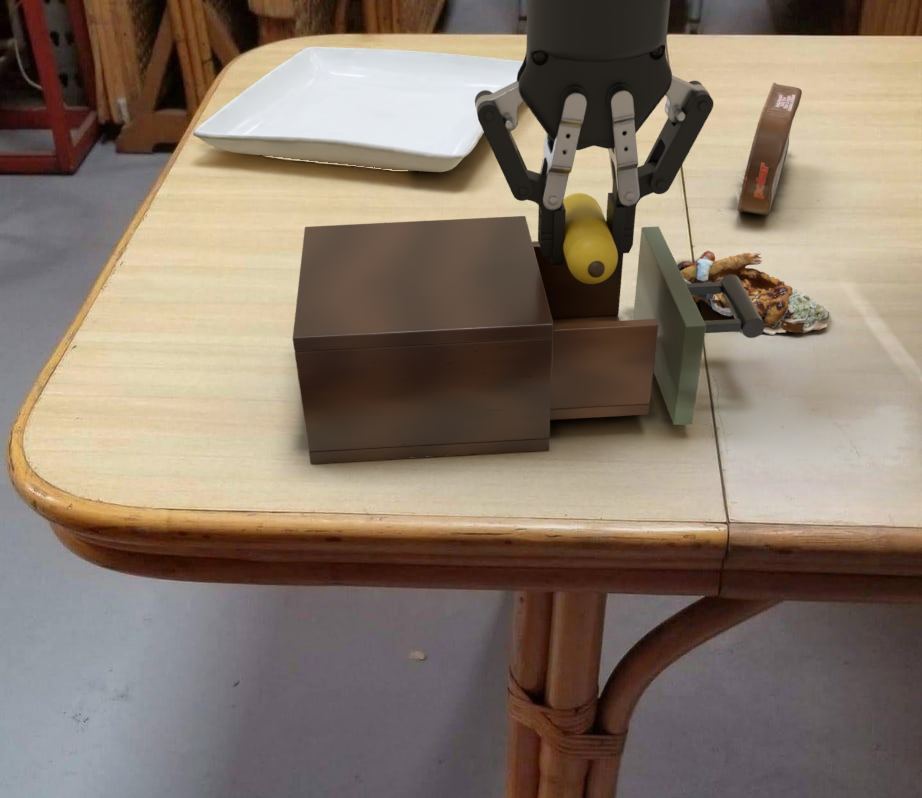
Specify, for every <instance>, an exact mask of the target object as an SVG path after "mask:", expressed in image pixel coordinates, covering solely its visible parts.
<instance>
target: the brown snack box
mask: <svg viewBox="0 0 922 798" xmlns="http://www.w3.org/2000/svg"><path fill="white" fill-rule="evenodd" d="M802 94H803V90H802V89H801V88H799V87H795V86H789V85H785V84H779V83H778V84H777V82H773V83H772V85H771V87H770V90H769V93H768V95H767V98H766V100H765V103H764V105H763V107H762V109H761V111H760V112H761V113H760V116H759V119H758V121H757V125H756V129H755V133H754V136H753V140H752V144H751V148H750V151H749V156H748V159H747V165H746V169H745V172H744V177H743V181H742V186H741V190H740V191H741V192H740V195H739V200H738V204H737V205H738V206H737V212H738V213H741V212H744V213H750V214H755V215H761V216H762V215H763V216H765V215H769V213H770V211H771V209H772V206H773V203H774V200H775V197H776V194H777V191H778V188H779V185H780V180H781V177H782V173H783V169H784V166H785V162H786V158H787V155H788V150H789V145H790V135H791V129H792V126H793V122H794V121H793V120H794V118H795V117H796V113H797V110H798V108H799V105H800V102H801V98H802Z"/></svg>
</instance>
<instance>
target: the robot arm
mask: <svg viewBox="0 0 922 798" xmlns="http://www.w3.org/2000/svg"><path fill="white" fill-rule="evenodd" d="M670 6H671V0H526V48H525V49H526V50H525V56H524V58H523V60H522V61H523V64H522V66H521V67H520V69H519V71H518V74H517V81H516V82H514V83H512V84H510V85H508V86H506V87H504V88H502V89H500V90H498V91H496V92H494V93H492V92H490V91H488V90H483V91H481V92H479V93H478V94H477V95H476V97H475V106H476V111H477V116H478V120H479V122H480V124H481V127H482V129H483V131H484V133H483V134H484V136H485V138H486V139H487V142H488V144H489V146H490V148H491V151H492V153H493V155H494V157H495V160H496V161H497V163H498V166H499V168H500V170H501V172H502V174H503V176H504V178H505V180H506V183H507V185H508V187H509V190H510V191H511V194H512V196H513V198H514V199H516V200H517V201H520V202H524V201H530V202H533V203H535V204H537V205H538V211H537V212H538V215H537V216H538V217H537V224H538V225H537V226H538V227H537V241H538V242H539V246H540V250H541V252H542V255H543V257H549V259H550V262H551V266H563V264H564V251H563V245H564V240H565V216H566V210H565V207H564V203H563V200H564V198H565V194H566V190H567V185H568V181H569V176H570V174H571V173H572V170H573V166H574V162H575V157H576V152H577V151H582V150H584V149H587V148H590V147H598V148H603V149H607V152H608V155H609V163H610V173H611V181H612V188H611V189H612V190H611V192H608V193H607V200H606V202H607V203H606V218H605V220H606V222H607V225H608V228H609V230H610V233H611V235H612V238H613V240H614V243H615V245H616V248H617V252H618V262H617V263H621V260H622V253H623V254H629V253H630V252H631V249H632V248H633V245H634V235H635V222H636V211H637V205H638V203H639V202H640V200H641V199H642V198H644V197H647V196H649V195H651V194H653V193H654V194H655V195H663V194H665V193H667V192H668V191H669V190H670V188H671V187H672V185H673V183H674V181H675V179H676V177H677V176H678V173H679V171H680V169H681V168H682V166H683V164H684V162H685V161H686V158H687V157H688V155H689V153H690V152H691V149H692V148H693V146H694V144H695V142H696V140H697V138H698V136H699V135H700V133H701V131H702V129H703V128H704V125H705V123H706V122H707V120H708V118H709V116H710V114H711V112H712V110H713V109H714V100H713V98H712V96H711V95H710V92H708V90H707V89H706V87H705V86H704V85H703V84H702V83H701V81H699V80H691V81H686V80H684V79H681V78H680V77H677V76H675V75H673V73H672V69H671V66H670V64H669V62H668V59H667V54H666V53H667V52H666V49H667V39H668V38H667V36H668V30H669V29H668V27H669V17H670ZM664 97H666V102H665V104H664V112H665V114H666V116H667V119H666V121H665V122H664V125H663V127H662V129H661V131H660V133H659V135H658V136H657V138H656V140H655V142H654V144H653V146H652V147H651V150H650V151H649V154H648V156H647V157H646V159H645V161H644V163H643V164H642V165H639V157H638V145H637V133H638V131H639V130H640V129H641V127H642V126H643V125H644V123H645V122H646V121H647V120H648V118H649V117H650V115H651V114H652V113H653V112H654V110H655V109H656V108H657V107H658V105H659V104H660V102H661V101H662V100H663V98H664ZM523 103H525V105H526V106H527V108H528V109H529V111H530V112H531V113H532V114H533V117H534V118H535V119H536V120H537V122H538V123H539V125H540V126H541V127H542V129H543V130H544V131H545V138H544V143H543V155H542V162H541V166H540V171H539V172H536V171H533V170H529V169H528V167H527V165H526V163H525V161H524V159H523V157H522V154H521V152H520V149H519V146H518V145H517V143H516V141H515V138H514V135H513V133H512V132H513V131H514V130H515V129H516V128H517V127H518V125H519V121H520V120H519V116H518V110H519V107H520V106H521V105H522V104H523Z"/></svg>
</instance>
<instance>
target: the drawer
mask: <svg viewBox="0 0 922 798" xmlns="http://www.w3.org/2000/svg"><path fill="white" fill-rule="evenodd" d="M639 240H640V241H639V249H638V250H639V252H638V262H637V272H636V273H637V274H636V284H635V295H634V306H633V317H632V319H625V320H620V317H619V314H620V313H619V312H620V301H621V299H620V298H621V288H622V277H623V275H622V274H623V264H624V253H622V260H621V263H617V266H616V268H615V270H614V272H613V273H612V275H611V276H610V277H609V278H607V279H606V280H604V281H603V282H600V283H597V284H586V283H583V282H581V281H579V280H578V279H576V278H575V277H574V276H573V275H572V273H571V272H570V270H569V268H568V265H567V261H566V258H565V255H564V264H563V266H551V262H550V259H549V257H543V255H542V252H541V250H540V246H539V242H538V240H537V241H534V240H532V243H533V247H534V251H535V255H536V259H537V263H538V266H539V270H540V274H541V278H542V282H543V286H544V290H545V293H546V297H547V301H548V305H549V309H550V313H551V316H552V320H553V324H554V331H553V358H552V385H551V412H550V421H554V420H555V421H556V420H572V419H573V420H574V419H590V418H607V417H608V418H609V417H627V416H643V415H649V414H650V408H651V407H650V406H651V397H652V388H653V380H654V379H653V378H654V377H655V379H656V382H657V385H658V387H659V390H660V393H661V395H662V398H663V401H664V403H665V406H666V408H667V411H668V414H669V417H670V419H671V422H672V425H674V426H680V425H681V426H682V425H692V424H693V420H694V414H695V407H696V400H697V393H698V384H699V377H700V371H701V365H702V357H703V351H704V343H705V337H706V334H715V333H716V334H717V333H735V332H737V333H738V332H741V333H742V334H743V336H744V337H745V338H748V339H755V338H758V337H759V336H760V335H761V334H762V333H764V332H763V330H764V326H765V325H764V322H763V320H762V318H761V317H760V315H759V313H758V311H757V309H756V308H755V306H754V304H753V302H752V301H751V299H750V297H749V295H748V293H747V292H746V290H745V288H744V286H743V285H742V283H741V281H740V279H739V278H738V277H737V276H736V275H727V276H725V277H723V278H722V279H721V281H720V282H712V283H692V284H686V283H685V281H684V279H683V276H682V274H681V272H680V270H679V268H678V266H677V265H678V264H677V262H676V260H675V257H674V255H673V253H672V252H671V249H670V247H669V245H668V243H667V240H666V238H665V237H664V235H663V233H662V231H661V229H660V226H642V227H641V228H640V239H639ZM721 293H722V295H723V297H724V298H725V300H726V302H727V304H728V306H729V308H730V310H731V312H732V314H733V315H732V316H733V319H717V320H716V319H715V320H704V318H703V316H702V315H701V312H700V310H699V308H698V305H697V304H696V303H695V302H694V300H693V297H692V295H705V294H721Z"/></svg>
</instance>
